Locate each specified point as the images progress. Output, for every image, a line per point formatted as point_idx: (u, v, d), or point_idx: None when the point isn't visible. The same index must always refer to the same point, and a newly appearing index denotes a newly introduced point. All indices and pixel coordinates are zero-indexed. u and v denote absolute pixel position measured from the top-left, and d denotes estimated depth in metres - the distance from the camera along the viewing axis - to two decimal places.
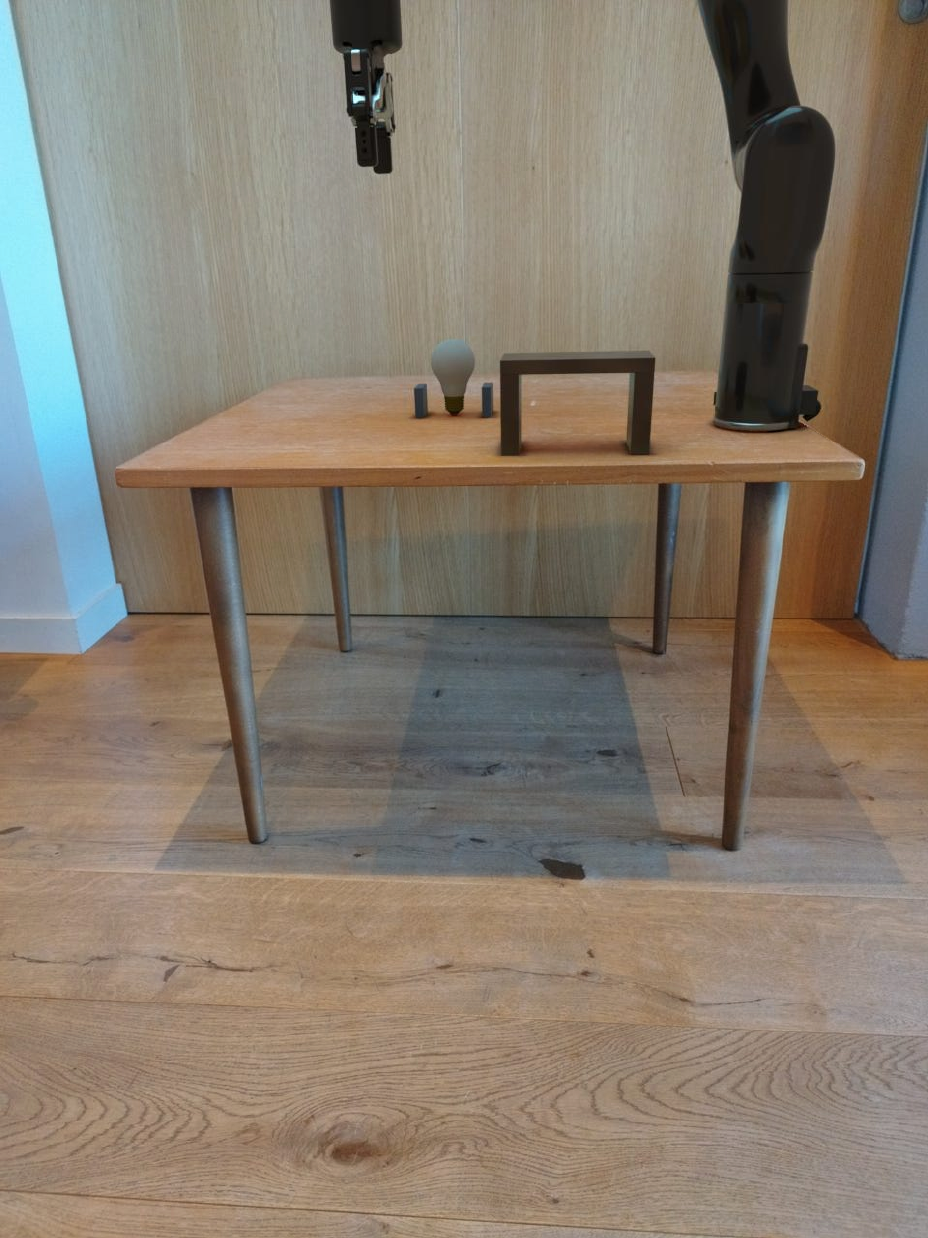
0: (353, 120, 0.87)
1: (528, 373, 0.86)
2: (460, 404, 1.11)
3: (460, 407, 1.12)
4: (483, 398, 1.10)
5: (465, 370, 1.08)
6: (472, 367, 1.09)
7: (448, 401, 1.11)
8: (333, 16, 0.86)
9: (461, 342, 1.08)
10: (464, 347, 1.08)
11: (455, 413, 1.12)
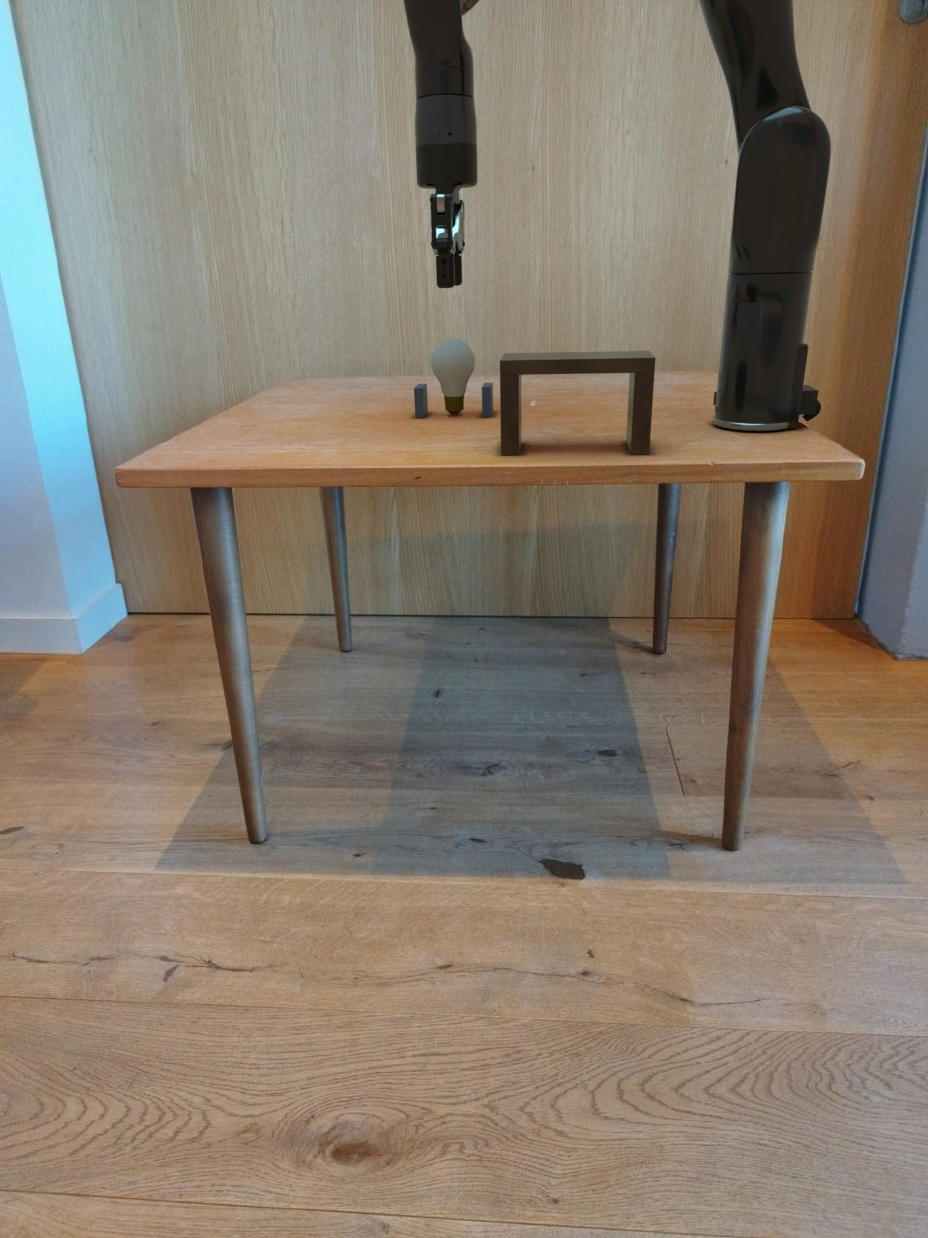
0: (435, 250, 1.00)
1: (528, 373, 0.86)
2: (460, 404, 1.11)
3: (460, 407, 1.12)
4: (483, 398, 1.10)
5: (465, 370, 1.08)
6: (472, 367, 1.09)
7: (448, 401, 1.11)
8: (419, 161, 0.99)
9: (461, 342, 1.08)
10: (464, 347, 1.08)
11: (455, 413, 1.12)
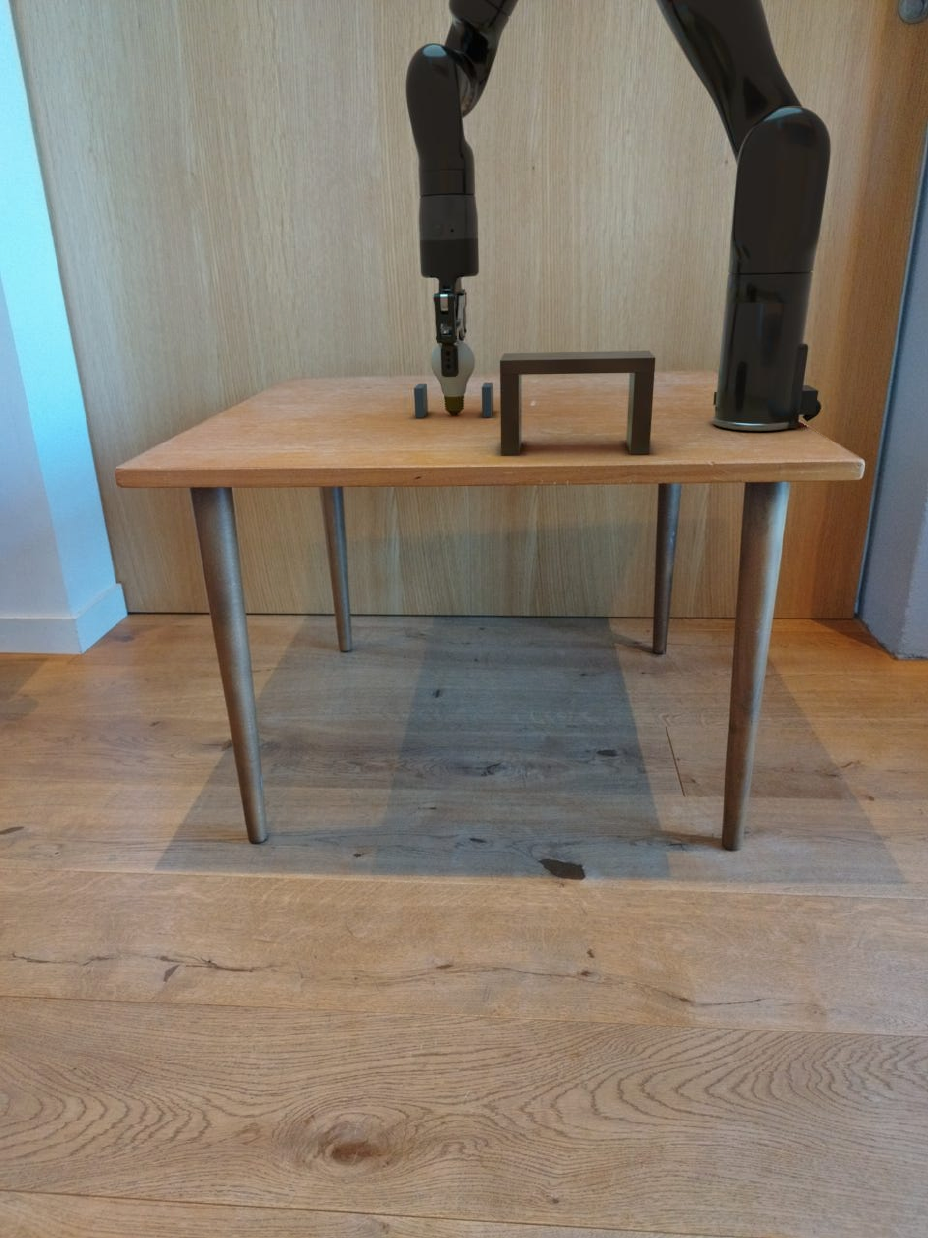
0: (440, 344, 1.05)
1: (528, 373, 0.86)
2: (460, 404, 1.11)
3: (460, 407, 1.12)
4: (483, 398, 1.10)
5: (465, 370, 1.08)
6: (472, 367, 1.09)
7: (448, 401, 1.11)
8: (423, 254, 1.03)
9: (461, 342, 1.08)
10: (464, 347, 1.08)
11: (455, 413, 1.12)
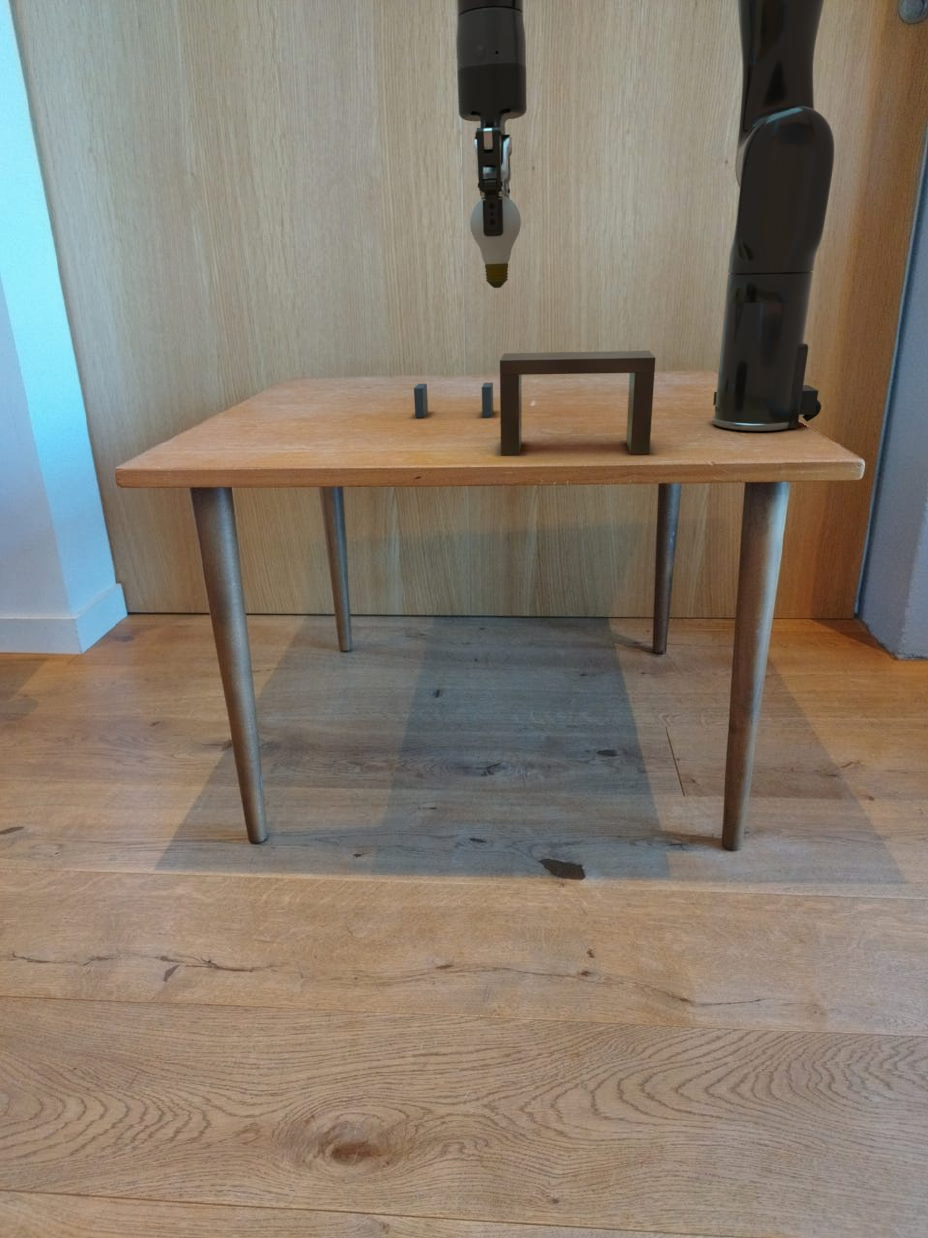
0: (482, 195, 0.90)
1: (528, 373, 0.86)
2: (504, 273, 0.96)
3: (504, 277, 0.97)
4: (483, 398, 1.10)
5: (510, 229, 0.93)
6: (518, 227, 0.94)
7: (490, 270, 0.96)
8: (462, 86, 0.88)
9: (505, 197, 0.93)
10: (508, 202, 0.93)
11: (498, 285, 0.97)
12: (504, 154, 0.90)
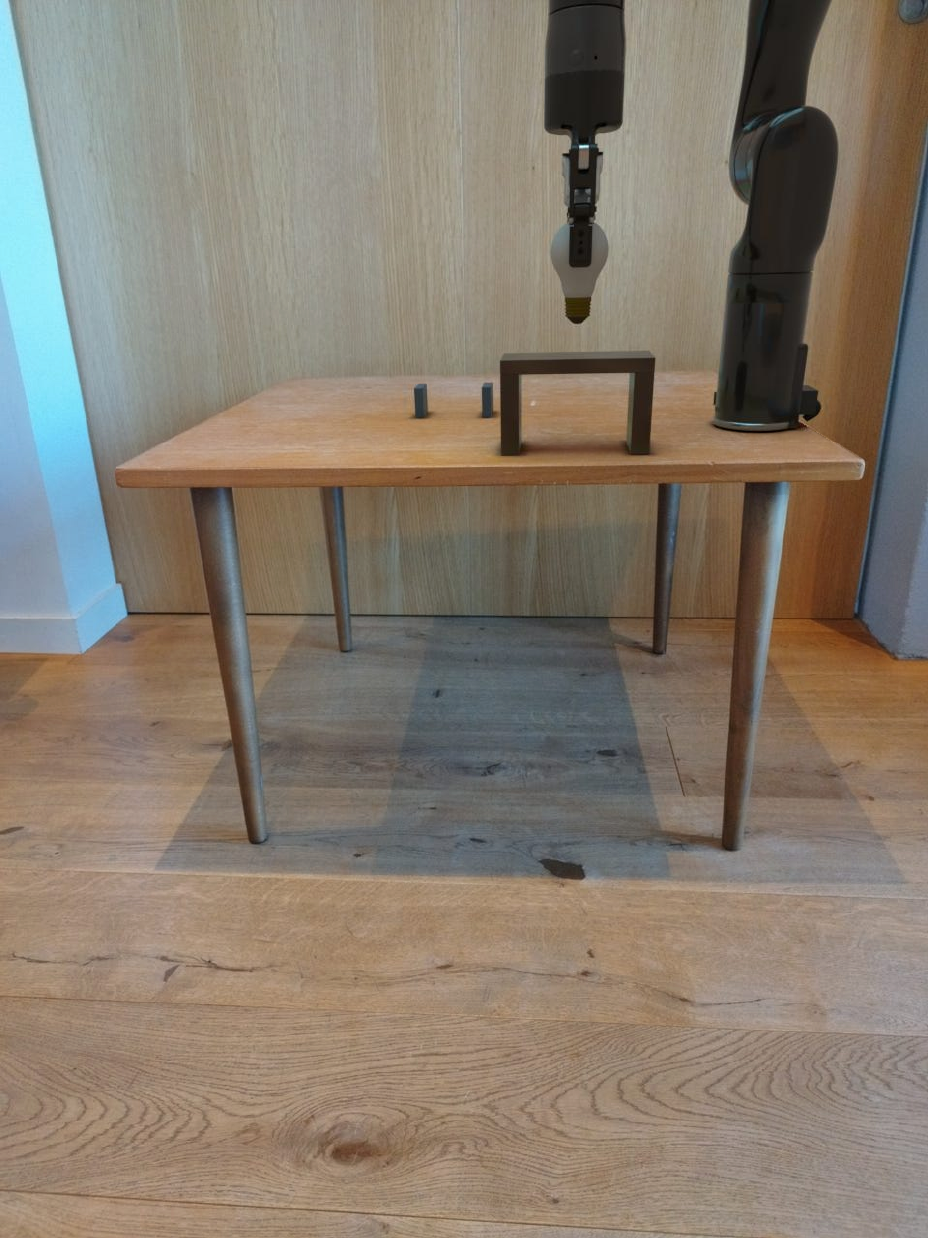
0: (570, 221, 0.79)
1: (528, 373, 0.86)
2: (587, 308, 0.85)
3: (586, 312, 0.85)
4: (483, 398, 1.10)
5: (598, 259, 0.82)
6: (606, 257, 0.83)
7: (571, 304, 0.85)
8: (551, 96, 0.76)
9: None
10: (597, 228, 0.81)
11: (579, 321, 0.86)
12: (597, 174, 0.78)
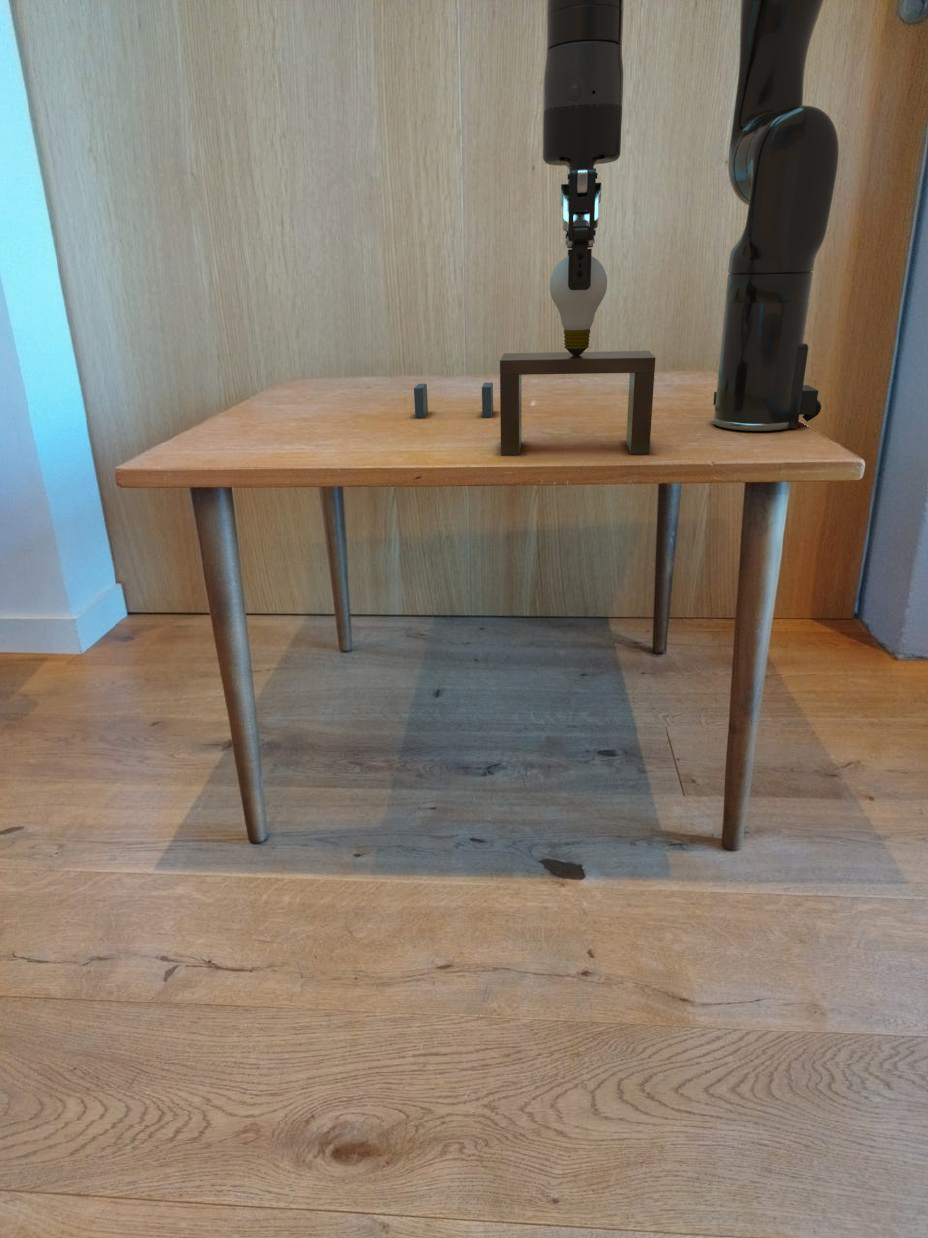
0: (569, 242, 0.78)
1: (528, 373, 0.86)
2: (586, 340, 0.86)
3: (585, 344, 0.86)
4: (483, 398, 1.10)
5: (597, 293, 0.83)
6: (604, 290, 0.84)
7: (570, 336, 0.86)
8: (550, 128, 0.77)
9: (591, 257, 0.83)
10: (596, 263, 0.82)
11: (578, 352, 0.87)
12: (595, 205, 0.79)
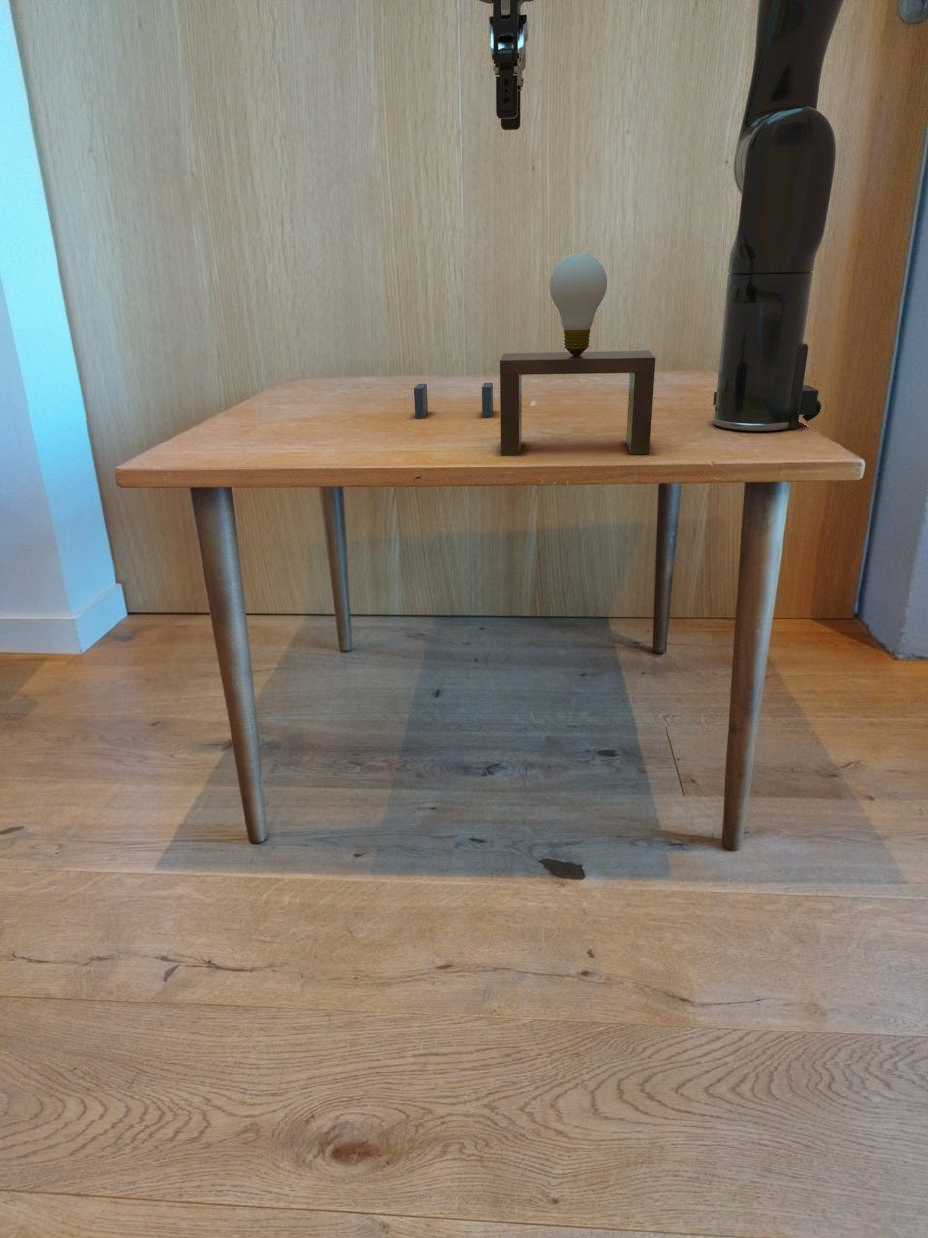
0: (496, 68, 0.83)
1: (528, 373, 0.86)
2: (586, 340, 0.86)
3: (585, 344, 0.86)
4: (483, 398, 1.10)
5: (597, 293, 0.83)
6: (604, 290, 0.84)
7: (570, 336, 0.86)
8: None
9: (591, 257, 0.83)
10: (596, 263, 0.82)
11: (578, 352, 0.87)
12: None
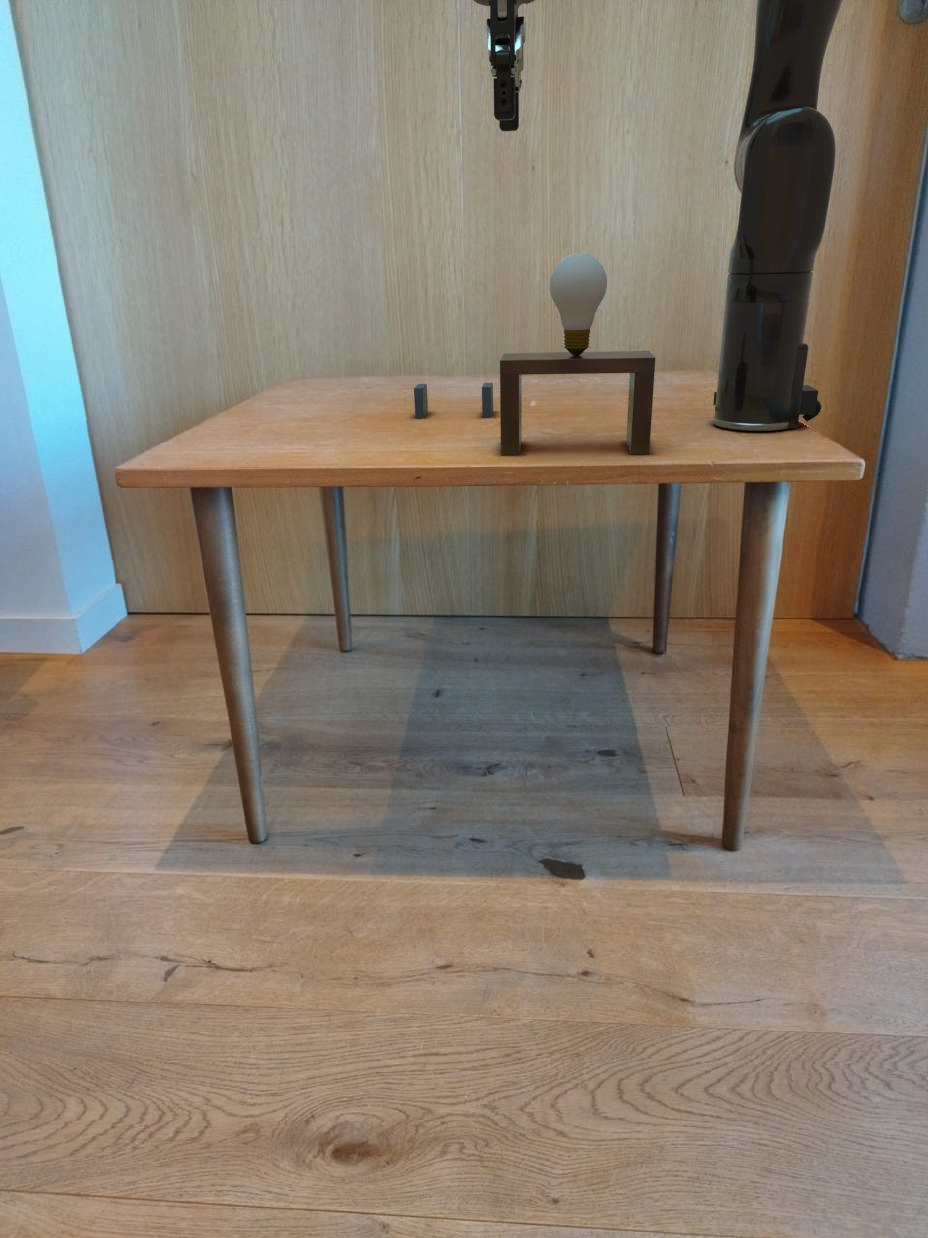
0: (493, 70, 0.84)
1: (528, 373, 0.86)
2: (586, 340, 0.86)
3: (585, 344, 0.86)
4: (483, 398, 1.10)
5: (597, 293, 0.83)
6: (604, 290, 0.84)
7: (570, 336, 0.86)
8: None
9: (591, 257, 0.83)
10: (596, 263, 0.82)
11: (578, 352, 0.87)
12: None
